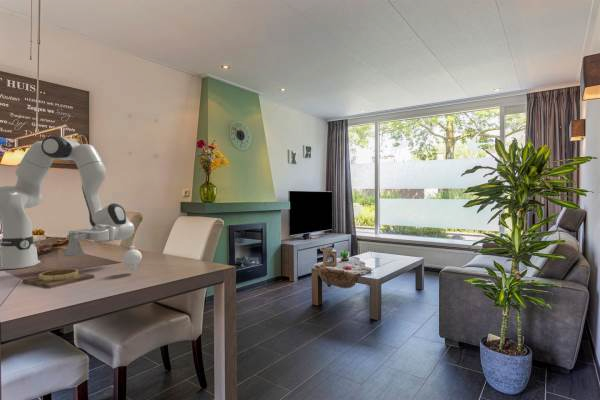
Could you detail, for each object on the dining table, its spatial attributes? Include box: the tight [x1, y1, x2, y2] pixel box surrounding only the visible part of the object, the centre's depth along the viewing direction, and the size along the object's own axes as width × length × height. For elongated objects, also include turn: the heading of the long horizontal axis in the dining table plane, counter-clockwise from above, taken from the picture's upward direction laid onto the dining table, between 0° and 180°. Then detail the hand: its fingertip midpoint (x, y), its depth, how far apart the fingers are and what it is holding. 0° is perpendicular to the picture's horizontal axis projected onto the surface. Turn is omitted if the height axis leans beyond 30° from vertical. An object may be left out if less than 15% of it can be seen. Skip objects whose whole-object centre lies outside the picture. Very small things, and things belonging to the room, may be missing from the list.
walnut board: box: [22, 272, 95, 289], centre depth 140 cm, size 19×17×1 cm
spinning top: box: [122, 245, 143, 274], centre depth 151 cm, size 8×8×12 cm
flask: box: [62, 232, 85, 257], centre depth 148 cm, size 7×7×10 cm
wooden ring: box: [38, 268, 80, 281], centre depth 140 cm, size 13×13×2 cm
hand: (70, 236), depth 147 cm, fingers closed on flask, 3 cm apart
